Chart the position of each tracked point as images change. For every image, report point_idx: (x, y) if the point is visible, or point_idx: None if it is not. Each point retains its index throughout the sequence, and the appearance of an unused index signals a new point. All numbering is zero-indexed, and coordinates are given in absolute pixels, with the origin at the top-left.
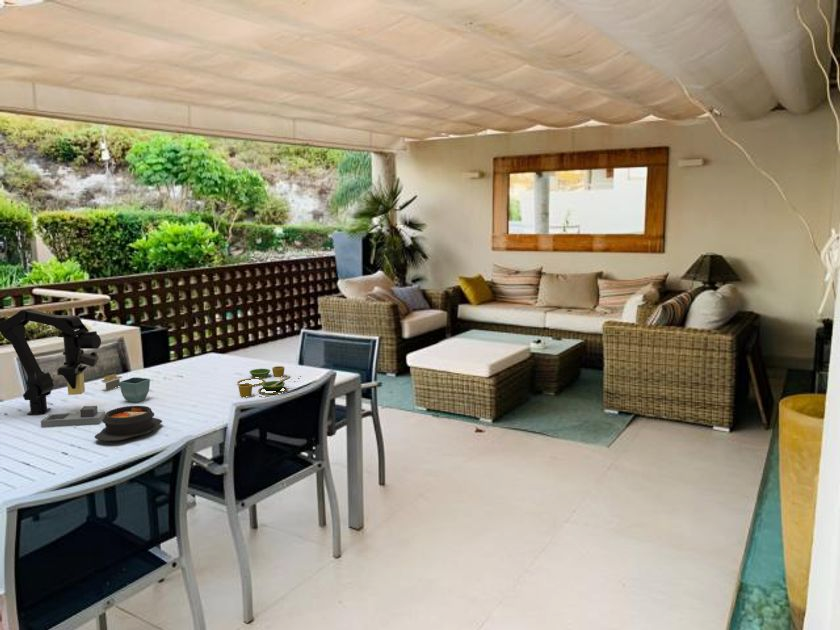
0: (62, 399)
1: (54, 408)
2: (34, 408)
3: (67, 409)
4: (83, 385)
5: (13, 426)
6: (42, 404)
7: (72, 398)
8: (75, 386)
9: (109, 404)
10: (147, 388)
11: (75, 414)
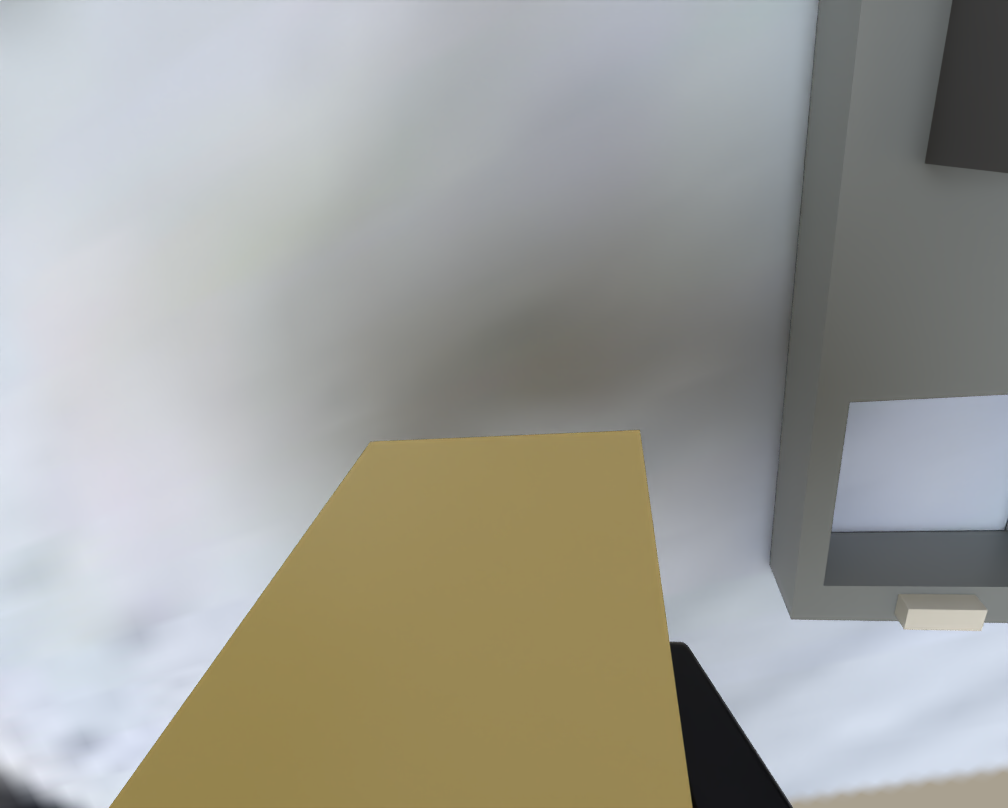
0: (121, 648)
1: None
2: None
3: None
4: (382, 539)
5: (868, 759)
6: None
7: (74, 592)
8: (705, 688)
9: (142, 132)
10: None
11: (914, 307)
